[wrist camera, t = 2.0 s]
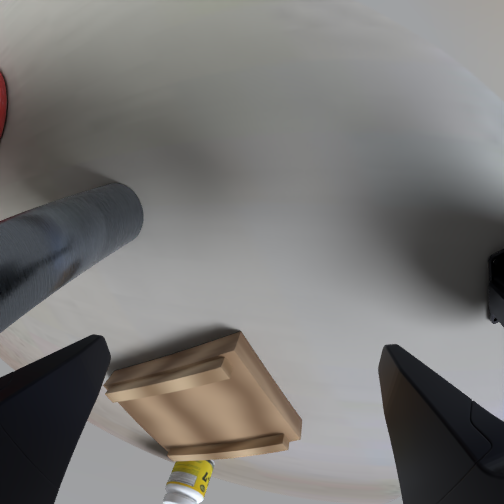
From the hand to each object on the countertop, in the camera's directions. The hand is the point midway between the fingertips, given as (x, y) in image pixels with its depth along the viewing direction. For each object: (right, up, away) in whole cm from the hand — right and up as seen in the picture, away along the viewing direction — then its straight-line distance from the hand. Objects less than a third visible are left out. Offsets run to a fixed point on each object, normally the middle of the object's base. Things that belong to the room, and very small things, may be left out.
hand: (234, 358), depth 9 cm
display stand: (-4, -11, +19) cm, 22 cm away
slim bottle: (-10, +6, +13) cm, 18 cm away
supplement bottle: (-6, -23, +24) cm, 34 cm away
